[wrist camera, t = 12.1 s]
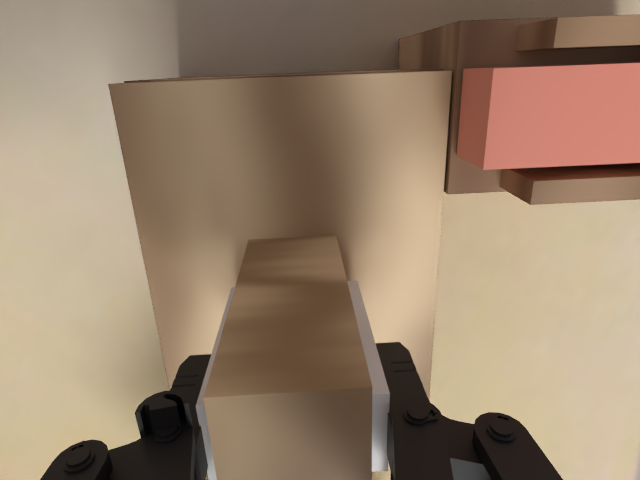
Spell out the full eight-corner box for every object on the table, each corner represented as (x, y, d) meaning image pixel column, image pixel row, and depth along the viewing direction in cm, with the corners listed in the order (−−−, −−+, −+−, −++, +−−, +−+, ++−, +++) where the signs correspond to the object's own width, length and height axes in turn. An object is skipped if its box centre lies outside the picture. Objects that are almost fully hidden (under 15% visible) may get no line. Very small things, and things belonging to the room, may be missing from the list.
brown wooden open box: (219, 354, 30) (173, 518, 19) (174, 47, 23) (60, 27, 12) (558, 334, 31) (703, 482, 20) (616, 31, 24) (895, -2, 13)
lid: (191, 449, 23) (115, 722, 13) (121, 83, 16) (-131, 100, 7) (419, 434, 23) (504, 689, 14) (441, 71, 17) (637, 69, 7)
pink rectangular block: (456, 155, 16) (483, 169, 14) (463, 68, 15) (493, 68, 13) (666, 146, 16) (727, 158, 14) (688, 59, 15) (758, 58, 13)
